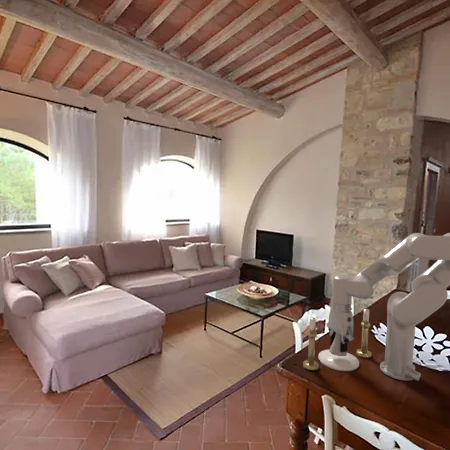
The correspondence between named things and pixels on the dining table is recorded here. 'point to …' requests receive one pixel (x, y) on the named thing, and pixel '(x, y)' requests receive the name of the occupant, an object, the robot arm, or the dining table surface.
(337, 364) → the cream plate
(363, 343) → the far candlestick
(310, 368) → the near candlestick
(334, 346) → the flask
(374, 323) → the dining table surface
